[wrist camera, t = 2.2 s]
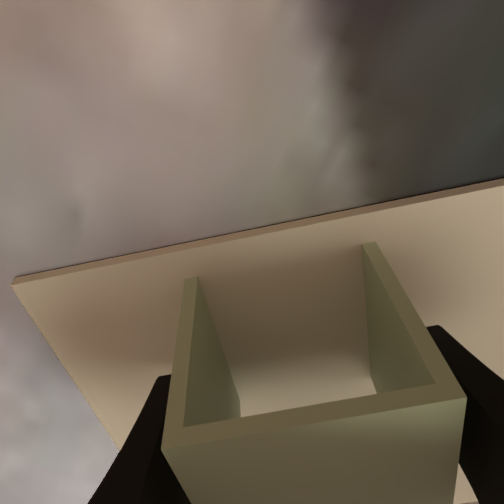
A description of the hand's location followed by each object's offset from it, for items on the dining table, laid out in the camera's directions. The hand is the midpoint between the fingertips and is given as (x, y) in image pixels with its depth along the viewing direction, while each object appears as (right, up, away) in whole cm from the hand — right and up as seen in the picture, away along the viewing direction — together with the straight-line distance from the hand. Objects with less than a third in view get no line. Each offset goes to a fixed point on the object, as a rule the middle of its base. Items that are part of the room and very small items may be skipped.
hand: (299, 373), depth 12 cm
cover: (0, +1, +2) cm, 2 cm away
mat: (+1, -3, +5) cm, 5 cm away
